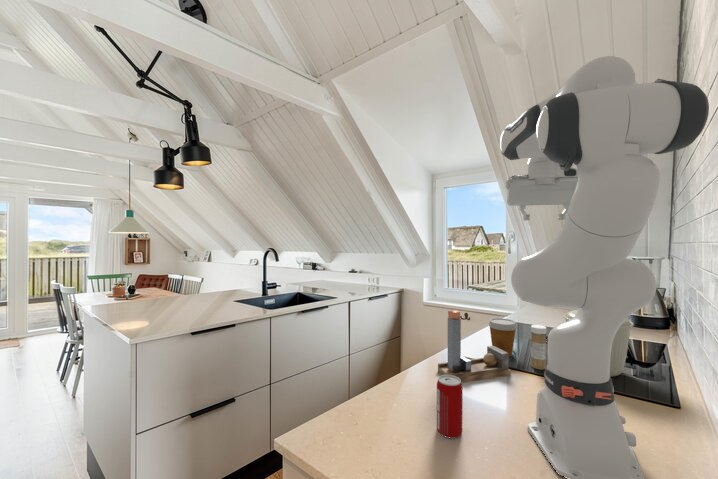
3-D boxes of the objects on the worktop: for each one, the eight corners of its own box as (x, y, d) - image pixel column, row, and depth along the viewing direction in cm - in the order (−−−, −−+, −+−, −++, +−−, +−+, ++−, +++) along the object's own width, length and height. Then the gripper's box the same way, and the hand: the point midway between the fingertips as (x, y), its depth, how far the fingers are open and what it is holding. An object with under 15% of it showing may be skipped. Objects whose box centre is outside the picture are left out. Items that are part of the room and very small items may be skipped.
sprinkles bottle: (534, 363, 111) (534, 323, 111) (548, 367, 108) (549, 326, 107) (528, 366, 108) (528, 326, 108) (542, 371, 105) (543, 329, 104)
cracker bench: (453, 383, 96) (453, 361, 96) (437, 371, 105) (437, 350, 105) (510, 375, 102) (510, 354, 102) (491, 364, 111) (491, 344, 110)
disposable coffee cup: (523, 356, 117) (523, 323, 117) (502, 360, 113) (502, 326, 113) (502, 348, 126) (502, 316, 125) (482, 351, 122) (482, 319, 122)
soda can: (467, 437, 71) (467, 382, 71) (444, 441, 70) (444, 385, 69) (453, 423, 76) (453, 371, 76) (432, 426, 75) (432, 374, 75)
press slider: (454, 375, 98) (454, 314, 98) (443, 366, 104) (443, 309, 104) (471, 372, 100) (471, 313, 99) (459, 364, 106) (459, 308, 105)
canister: (589, 383, 96) (589, 311, 96) (550, 359, 114) (551, 298, 114) (649, 382, 97) (650, 310, 96) (602, 358, 115) (602, 298, 114)
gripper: (507, 174, 99) (507, 220, 99) (587, 169, 93) (586, 219, 93) (505, 177, 105) (504, 221, 105) (579, 173, 99) (579, 220, 99)
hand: (543, 220), depth 99 cm, fingers open, 8 cm apart
